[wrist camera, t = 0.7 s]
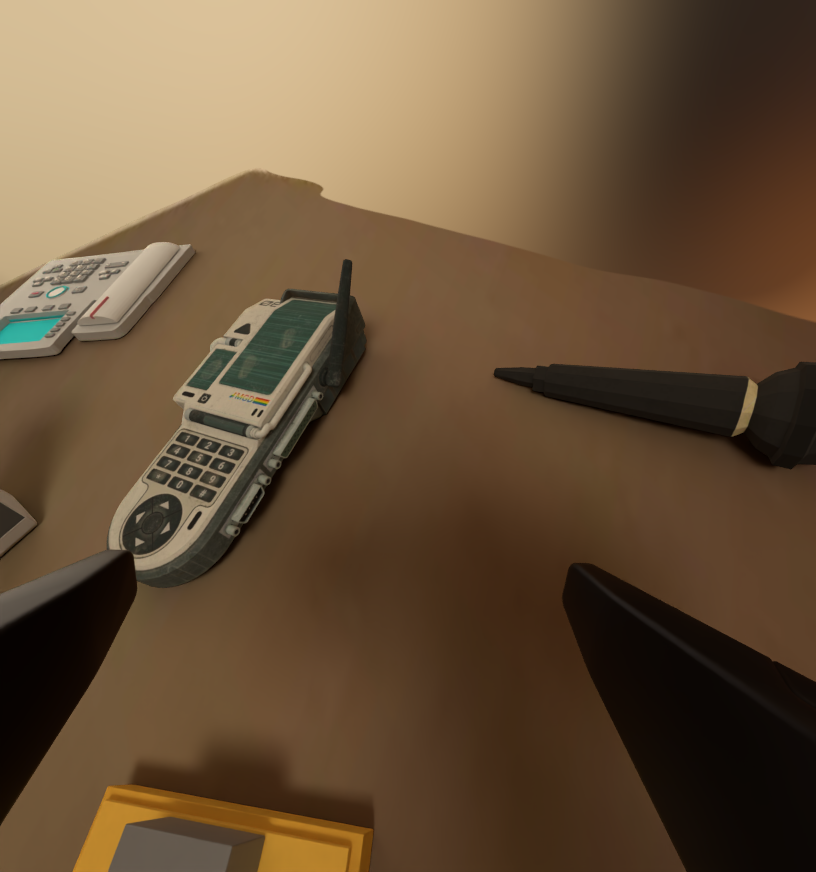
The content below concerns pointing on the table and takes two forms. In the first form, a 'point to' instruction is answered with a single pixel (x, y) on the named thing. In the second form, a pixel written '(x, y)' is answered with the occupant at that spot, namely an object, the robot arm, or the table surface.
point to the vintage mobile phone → (13, 522)
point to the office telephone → (86, 299)
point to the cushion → (284, 833)
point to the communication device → (238, 429)
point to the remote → (185, 848)
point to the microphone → (696, 402)
